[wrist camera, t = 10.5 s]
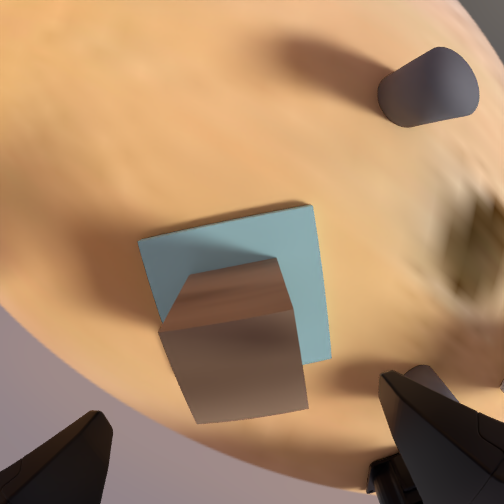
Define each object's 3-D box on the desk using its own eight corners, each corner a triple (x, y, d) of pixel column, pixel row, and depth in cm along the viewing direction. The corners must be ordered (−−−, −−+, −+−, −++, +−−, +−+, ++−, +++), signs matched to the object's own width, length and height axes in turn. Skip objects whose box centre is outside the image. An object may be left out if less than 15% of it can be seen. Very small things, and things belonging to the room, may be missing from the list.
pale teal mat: (329, 352, 17) (331, 358, 17) (186, 376, 18) (184, 382, 17) (310, 204, 15) (312, 205, 14) (141, 239, 15) (137, 241, 15)
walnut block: (290, 334, 16) (308, 408, 10) (211, 348, 16) (196, 424, 11) (276, 257, 15) (293, 309, 9) (189, 274, 15) (158, 332, 9)
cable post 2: (429, 390, 19) (458, 430, 14) (394, 403, 19) (419, 448, 14) (435, 359, 18) (469, 399, 13) (398, 372, 18) (428, 418, 13)
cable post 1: (430, 126, 14) (485, 117, 9) (384, 129, 14) (435, 115, 9) (417, 75, 13) (467, 51, 8) (371, 74, 13) (415, 43, 8)
